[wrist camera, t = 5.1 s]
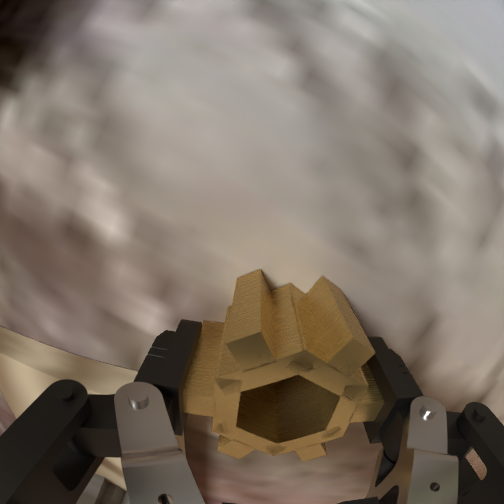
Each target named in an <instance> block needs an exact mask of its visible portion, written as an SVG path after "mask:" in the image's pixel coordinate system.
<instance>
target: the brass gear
mask: <svg viewBox="0 0 504 504" xmlns="http://www.w3.org/2000/svg"><path fill="white" fill-rule="evenodd" d="M374 354H375V351H374V349H373V347H372V345H371V344H370V342H369V340H368V338H367V336H366V334H365V332H364V331H363V329H362V327H361V325H360V323H359V321H358V320H357V318H356V316H355V314H354V313H353V311H352V309H351V307H350V305H349V304H348V302H347V300H346V298H345V297H344V295H343V293H342V291H341V290H340V288H338V287H337V286H336V285H334V284H333V283H332V282H330V281H329V280H328V279H326V278H325V277H324V276H322V277H321V278H320V279H319V280H318V281H317V282H316V284H315V285H314V286H313V287H312V288H311V289H310V290H309V292H308V293H307V294H305V293H303V292H302V291H300V290H299V289H298V288H296V287H295V286H293V285H292V284H291V283H289V284H287V285H284V286H282V287H279V288H277V289H274V290H271V291H270V289H269V287H268V284H267V282H266V280H265V278H264V276H263V273H262V271H261V269H259V270H256V271H254V272H251V273H249V274H246V275H244V276H241V277H238V278H237V281H236V287H235V292H234V298H233V303H232V306H229V307H228V309H227V314H226V319H225V323H219V322H211V321H203V324H202V332H201V335H200V338H199V341H198V345H197V348H196V351H195V354H194V358H193V361H192V364H191V367H190V371H189V374H188V377H187V380H186V384H185V387H184V390H183V406H184V413H190V414H196V415H203V416H209V417H213V424H212V430H211V431H212V432H215V433H217V434H220V436H219V443H218V450H217V451H220V452H222V453H225V454H227V455H230V456H232V457H235V458H238V459H240V458H242V457H244V456H245V455H247V454H249V453H250V452H252V451H253V450H255V449H257V450H259V451H262V452H265V453H268V454H270V455H272V456H275V455H278V454H282V453H287V452H291V451H295V452H296V453H297V455H298V456H299V457H300V459H301V460H302V461H307V460H310V459H314V458H318V457H321V456H325V455H327V453H326V448H325V443H324V442H327V441H330V440H333V439H336V438H339V437H342V436H343V434H344V433H345V431H346V429H347V427H348V425H349V423H353V422H367V421H374V420H375V418H376V417H377V415H378V413H379V411H380V410H381V408H382V406H383V404H384V400H383V398H382V396H381V393H380V391H379V389H378V387H377V384H376V382H375V380H374V378H373V376H372V373H371V371H370V369H369V367H368V365H367V361H368V360H369V359H370V358H371V357H372V356H373V355H374Z"/></svg>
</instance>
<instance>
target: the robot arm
mask: <svg viewBox="0 0 504 504" xmlns="http://www.w3.org/2000/svg"><path fill="white" fill-rule="evenodd" d="M201 332H202V323H201V322H197V321H190V320H183V319H182V320H181V321H180V323H179V325H178V328H177V330H176V332H174V331H168V330H166V331H164V332H163V333H161V334H160V335H159V336H157V337H156V339H155V341H154V343H153V344H152V348H150V350H149V352H148V355H147V356H146V358H145V360H144V362H143V364H142V366H141V367H140V369H139V371H138V373H137V375H136V377H135V379H134V381H133V382H131V383H127V384H125V385H123V386H121V387H120V388H119V389H118V390H117V391H116V393H115V394H109V395H103V394H88V392H87V390H86V388H85V387H84V385H83V384H81V383H80V382H78V381H75V380H71V379H63V380H59V381H56V382H54V383H52V384H51V385H50V386H49V387H48V388H47V389H46V390H45V391H44V392H43V393H42V394H41V395H40V396H39V397H38V398H37V399H36V400H35V401H34V402H33V403H32V404H31V405H30V406H29V407H28V408H27V409H26V410H25V411H24V412H23V413H22V414H21V415H20V416H19V417H18V418H17V419H16V420H15V421H14V422H13V423H12V425H11V426H10V427H9V428H8V429H7V430H6V431H5V432H4V433H3V434H2V435H1V436H0V504H76V502H77V501H78V499H79V498H80V496H81V494H82V493H83V491H84V490H85V488H86V487H87V485H88V483H89V482H90V480H91V479H92V477H93V476H94V474H95V472H96V471H97V469H98V468H99V466H100V465H101V463H102V461H103V460H104V458H105V457H115V458H121V466H122V471H123V475H124V480H125V484H126V489H127V493H128V497H129V501H130V504H205V502H204V500H203V498H202V496H201V493H200V491H199V489H198V487H197V484H196V482H195V479H194V477H193V475H192V472H191V470H190V467H189V465H188V462H187V459H186V457H185V455H184V452H183V451H182V449H180V448H179V446H178V443H177V441H176V438H175V435H179V436H182V434H183V430H184V426H185V422H186V418H187V414H188V413H184V406H183V390H184V387H185V384H186V380H187V377H188V374H189V371H190V367H191V364H192V361H193V358H194V354H195V351H196V348H197V345H198V341H199V338H200V335H201ZM367 338H368V340H369V342H370V344H371V345H372V347H373V349H374V351H375V354H374V355H373V356H372V357H371V358H370V359H369V360H368V361H367V365H368V367H369V369H370V371H371V373H372V376H373V378H374V380H375V382H376V384H377V387H378V389H379V391H380V393H381V396H382V398H383V400H384V404H383V406H382V408H381V410H380V411H379V413H378V415H377V417H376V418H375V420H374V421H367V422H363V423H364V426H365V429H366V432H367V435H368V439H369V442H370V444H372V443H380V442H382V445H383V447H382V449H381V450H380V452H379V454H378V459H377V463H376V467H375V470H374V474H373V478H372V481H371V485H370V488H369V491H368V494H367V496H366V497H365V499H359V500H352V501H344V502H341V503H338V504H504V426H503V424H502V423H501V422H500V421H499V420H498V418H497V417H496V416H495V415H494V414H493V413H492V411H491V410H490V409H489V408H488V407H487V406H485V405H484V404H481V403H478V402H471V403H469V404H467V405H466V407H465V408H464V410H463V411H462V413H458V412H447V411H446V410H445V408H444V406H443V405H442V404H441V403H440V402H439V401H438V400H436V399H434V398H431V397H427V396H423V394H422V392H421V390H420V389H419V387H418V385H417V384H416V382H415V380H414V379H413V377H412V375H411V374H409V373H410V372H409V370H408V369H407V367H405V364H404V362H403V360H402V359H401V357H400V356H399V355H398V354H396V353H395V352H394V351H393V350H392V349H388V347H387V346H386V344H385V342H384V341H383V339H382V338H381V337H367ZM472 449H474V450H475V451H476V453H477V454H478V456H479V457H480V458H481V460H482V461H483V463H484V464H485V466H486V468H487V474H486V477H485V478H484V479H483V480H480V478H479V477H478V475H477V474H476V472H475V471H474V469H473V468H472V466H471V465H470V463H469V462H468V460H467V459H466V458H465V457H466V456H467V454H468V453H469V452H470V451H471V450H472ZM222 504H234V503H223V502H222Z"/></svg>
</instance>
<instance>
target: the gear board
mask: <svg viewBox="0 0 504 504" xmlns="http://www.w3.org/2000/svg"><path fill="white" fill-rule="evenodd" d="M137 373H138V371H133V370H129V369H125V368H121V367H117V366H113V365H110V364H106V363H102V362H99V361H95V360H92V359H88V358H85V357H82V356H78V355H75V354H72V353H69V352H66V351H63V350H60V349H57V348H54V347H51V346H49V345H46V344H43V343H40V342H38V341H35V340H33V339H30V338H27V337H25V336H22V335H20V334H18V333H15V332H13V331H10V330H8V329H6V328H4V327H1V326H0V389H1V391H2V393H3V395H4V397H5V399H6V400H7V402H8V404H9V406H10V408H11V410H12V411H13V413H14V415H15V417H16V418H18V417H19V416H20V415H21V414H22V413H23V412H24V411H25V410H26V409H27V408H28V407H29V406H30V405H31V404H32V403H33V402H34V401H35V400H36V399H37V398H38V397H39V396H40V395H41V394H42V393H43V392H44V391H45V390H46V389H47V388H48V387H49V386H50V385H51V384H52V383H54V382H56V381H59V380H63V379H71V380H75V381H78V382H80V383H81V384H83V385H84V387H85V388H86V390H87V392H88V394H103V395H109V394H115V393H116V391H117V390H118V389H119V388H120V387H121V386H123V385H125V384H127V383H131V382H133V381H134V379H135V377H136V375H137ZM175 438H176V441H177V443H178V446H179V448H180V449H182V451H183V452H184V455H185V457H186V452H185V441H184V430H183V434H182V436H179V435H175ZM76 504H130V501H129V497H128V493H127V489H126V484H125V480H124V475H123V471H122V466H121V458H115V457H105V458H104V460H103V461H102V463H101V465H100V466H99V468H98V469H97V471H96V472H95V474H94V476H93V477H92V479H91V480H90V482H89V483H88V485H87V487H86V488H85V490H84V491H83V493H82V494H81V496H80V498H79V499H78V501H77V502H76Z"/></svg>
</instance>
